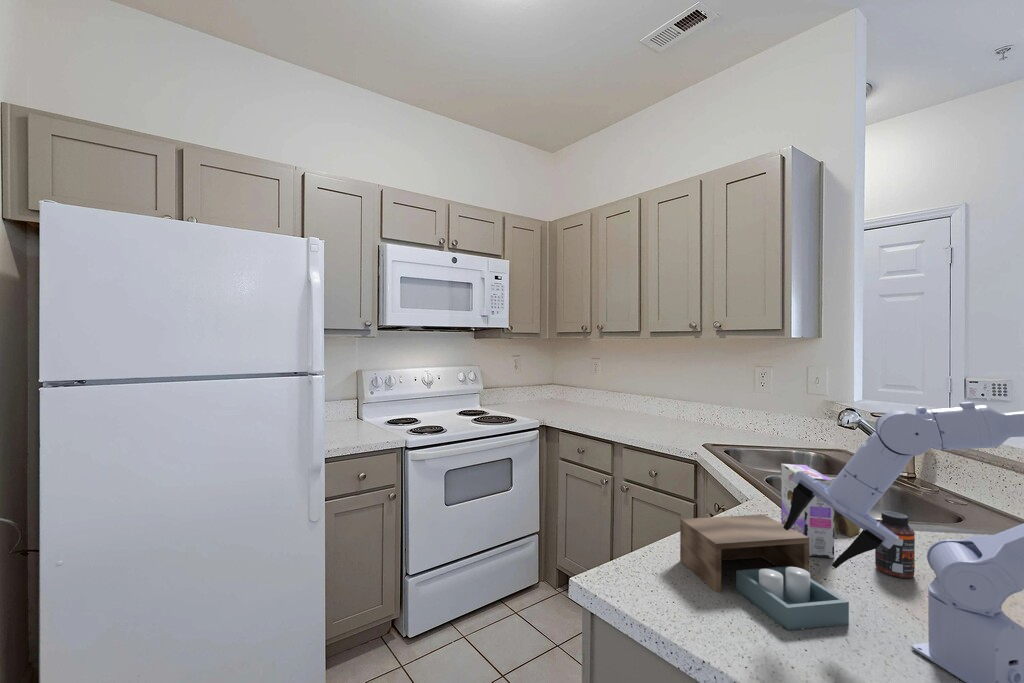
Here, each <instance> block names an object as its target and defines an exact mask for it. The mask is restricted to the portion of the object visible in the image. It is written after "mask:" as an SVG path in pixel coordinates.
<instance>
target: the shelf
mask: <svg viewBox="0 0 1024 683" xmlns="http://www.w3.org/2000/svg"><path fill="white" fill-rule="evenodd" d="M679 523H680V527H679V528H680V534H679V536H680V537H679V538H680V539H679V540H680V541H679V542H680V546H679V550H680V552H679V553H680V554H679V557H680V558H679V561H680V562H681V563H682V564H683V565H685V567H686V568H688V569H689V570H690V571H691V572H692V573H694V575H696V576H697V577H698V578H700V579H701V580H702V581H703V582H704V584H705V583H706V584H707V585H708V586H709V587H710V588H711V589H712V590H713V591H715V593H717V592H722V561H730V560H731V561H732V560H744V559H745V560H747V559H758V558H763V560H764V559H765V560H766V561H767V562H769V563H771V564H772V565H774V566H775V567H787V566H791V567H798V568H801V569H804V570H806V571H808V572H809V573H810V556H809V537H807V536H805V535H803V534H801V533H799V532H797V531H795V530H793V529H791V528H790V529H789V530H785V529H784V528H783V527H784V525H783V524H781V522H779V521H777V520H775V519H774V518H772V517H769V516H767V515H765V514H762V513H761V514H748V515H747V514H745V515H732V516H731V515H730V516H729V515H728V516H726V515H725V516H712V517H696V518H695V517H694V518H680V522H679Z"/></svg>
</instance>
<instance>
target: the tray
mask: <svg viewBox="0 0 1024 683" xmlns="http://www.w3.org/2000/svg"><path fill="white" fill-rule="evenodd" d="M735 571H736V572H735V573H736V575H735V576H736V577H735V584H736V585H735V590H736V591H737V593H740V594H741V595H742V596H743V597H745V598H746V599H747V600H748V601H749V602H751V603H752V604H753V605H754V606H756V607H757V608H758V610H760V611H762V612H763V613H764V612H765V615H767V616H768V617H769V616H770V617H769V618H771V620H773V619H774V620H775V623H777V624H778V623H779V624H780V625H779V624H778V625H779V626H781V627H782V626H783V627H784V628H785V629H784V628H783V627H782V628H783V629H784V630H786V631H787V630H790V631H796V630H795V629H800V630H803V629H802V628H809V629H814V628H813V627H819V628H822V627H821V626H828V627H834V626H835V625H838V626H847V624H848V625H849V623H850V618H849V617H850V616H849V615H850V614H849V613H850V609H849V608H850V605H849V603H850V601H848V600H846V599H845V598H843V597H841V596H840V595H838V594H837V593H835V592H833V591H832V590H830V589H829V588H826V587H825V586H823V585H822V584H820V583H818V582H817V581H815V580H814V579H812V578H811V573H810V571H809V572H808V571H806V570H804V569H801V568H798V567H791V566H787V567H777V566H775V567H765V568H749V569H738V570H735ZM774 620H773V621H774ZM835 627H836V626H835Z"/></svg>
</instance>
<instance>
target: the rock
mask: <svg viewBox="0 0 1024 683" xmlns="http://www.w3.org/2000/svg"><path fill="white" fill-rule="evenodd" d="M834 531H836V532H838V533H840V534H842V535H843V536H846V537H848V536H849V537H848V538H852V537H853V536H857V535H859V534H860V533H861V528H860V527H859V526H857V525H856V524H854V523H853V522H852V521H850V520H849V519H847V518H846V517H844V516H843V515H842V514H840V513H839V512H837V511H836V510H834Z"/></svg>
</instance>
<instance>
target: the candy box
mask: <svg viewBox="0 0 1024 683" xmlns="http://www.w3.org/2000/svg"><path fill="white" fill-rule="evenodd" d="M800 470H801V471H802V472H804V473H805V474H807V475H809V476H810V477H812V478H814V479H815V480H817V481H819V482H820V483H822V484H824V485H825V486H827V487H829V486H830V484H831V483H832V482H833V481H834V479H831V477H828V476H827V475H824V474H823V473H821V472H819V471H817V470H815V469H813V468H812V467H810V466H808V465H807V464H794V463H781V464H780V487H781V488H780V493H781V494H780V498H781V499H780V500H781V501H780V503H781V504H780V505H781V506H780V507H781V508H780V509H781V511H780V512H781V516H780V518H781V519H780V520H781V522H780V523H781V524H783V525H785V523H786V521H787V519H788V516H789V513H790V509H791V504H792V496H793V490H794V488H795V487H796V486H797V485H798V484H796V483H794V482H793V481H791V480H792V478H793V477H794V476H795V474H796V473H797V472H798V471H800ZM791 529H793V530H795V531H797V532H799V533H801V534H803V535H805V536H807V537H809V557H819V558H820V557H821V558H827V559H828V558H829V559H834V558H835V529H834V509H833V508H832V507H830V506H829V505H827V504H826V503H824V502H823V501H822V500H820V499H819V498H817V497H816V496H815V497H814V498H813V499H812V500H811V501H810V503H809V504H808V505H807V506H806V507H805V509H804V510H803V511H802V512H801V514H800V515H799V517H798V518H797V520H796V522H795V523H794V524H793V526H792V527H791Z"/></svg>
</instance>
